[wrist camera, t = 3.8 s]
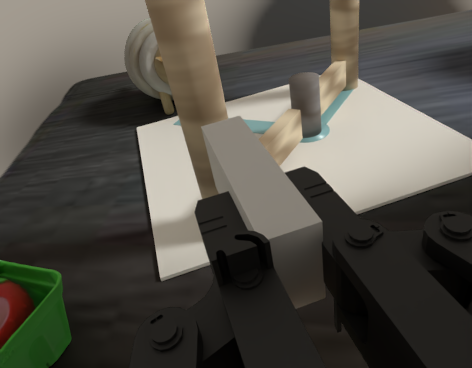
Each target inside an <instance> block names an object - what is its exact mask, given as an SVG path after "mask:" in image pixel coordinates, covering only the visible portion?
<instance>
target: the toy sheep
mask: <svg viewBox="0 0 472 368" xmlns="http://www.w3.org/2000/svg"><path fill="white" fill-rule="evenodd" d="M125 65H126V69H127V72H128V74H129V76H130V78H131V80H132V81H133V83H134V84H135V85H136V86H137V87H138V88H139V89H140V90H141V91H142V92H144V93H145V94H147V95H149V96H151V97H153V98H157V99H161V102H162V105H163V108H164V112H165V113H166V114H167V115H171V114H173V113H174V107H173V104H172V100H174V99H173V96H172V92H171V89H170V85H169V82H168V78H167V75H166V72H165V68H164V65H163V61H162V58H161V54H160V51H159V47H158V44H157V40H156V37H155V33H154V30H153V26H152V23H151V19H150V18H148V19H145V20H143V21H141V22H140V23H139V24H138V25H136V26H135V27H134V29H133V30H132V31H131V33H130V35H129V36H128V39H127V42H126V46H125Z"/></svg>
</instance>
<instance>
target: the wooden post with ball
mask: <svg viewBox="0 0 472 368" xmlns="http://www.w3.org/2000/svg"><path fill="white" fill-rule="evenodd" d="M330 24H331V60H332V65H331V66H330V67H329V68H328V69H327V70H326V71H325V72H324V73H323V74H322V75H321V76H320V77H319V75H318V74H316V73H312V72H304V73H299V74H295V75H293V76H291V77H290V78H289V89H290V99H291V109H297V110H300V112H301V124H302V136H303V138H310V137H314V136H317V135H318V134H320V133H321V131H322V128H321V116H322V114H323V113H324V112H325V111H326V110H327V108H328V107H329V106H330V105H331V103H332V102H333V101H334V100H335V99H336V97H337V96H338V95H339V94H340V93H341V91H348V90H352V89H356V88H357V87H358V41H359V0H330Z"/></svg>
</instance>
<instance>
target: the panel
mask: <svg viewBox="0 0 472 368" xmlns="http://www.w3.org/2000/svg"><path fill="white" fill-rule="evenodd" d="M145 2H146V5H147V9H148V12H149V16H150V19H151V23H152V26H153V30H154V33H155V37H156V40H157V44H158V47H159V51H160V54H161V58H162V61H163V65H164V68H165V72H166V75H167V78H168V82H169V85H170V89H171V92H172V96H173V99H174V103H175V106H176V110H177V113H178V117H179V120H180V124H181V127H182V131H183V134H184V138H185V141H186V145H187V148H188V152H189V155H190V159H191V162H192V166H193V169H194V173H195V176H196V179H197V183H198V186H199V190H200V193H201V197H202V199H204V198H208V197H211V196H214V195H217V194H219V193H218V191H217V188H216V186H215V181H214V177H213V173H212V169H211V165H210V161H209V157H208V153H207V149H206V145H205V141H204V137H203V133H202V129H201V126H205V125H208V124H212V123H215V122H219V121H222V120H226V119H228V114H227V109H226V105H225V100H224V95H223V90H222V85H221V80H220V75H219V70H218V65H217V60H216V56H215V51H214V46H213V41H212V36H211V31H210V26H209V21H208V16H207V12H206V7H205V2H204V0H145ZM302 139H303V136H302V124H301V112H300V110H297V109H288V110H287V111H286V112H285V113H284V114H283V115H282V116H281V117H280V118H279V119H278V120H277V121H276V122H275V123H274V124H273V125H272V126H271V127H270V128H269V129H268V130H267V131H266V132H265V133H264V134H263V135H262V136H261V137H260V138H259V141H260V142H261V143H262V145H263V146H264V147H265V148H266V150H267V151H268V152H269V154H270V155H271V156H272V157H273V159H274V160H275V161H276V163H277V164H278V165H279V166H280V165H281V164H282V163H283V162H284V160H285V159H286V158H287V157H288V156H289V154H290V153H291V152H292V151H293V150H294V148H295V147H296V146H297V145H298V143H299V142H300V141H301V140H302Z"/></svg>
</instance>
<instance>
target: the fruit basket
mask: <svg viewBox="0 0 472 368" xmlns="http://www.w3.org/2000/svg"><path fill="white" fill-rule="evenodd" d="M62 292H63V286H62V278H61V274H60V273H59V272H58V271H56V270H51V269H44V268H39V267H32V266H28V265H22V264H17V263H12V262H7V261H3V260H0V368H49V367H50V366H52V365H53V364H54V363H55V362H56V361H57V360H58V358H59V357H60V356H61V354H62V353H63V352H64V350H65V349H66V347H67V346H68V345H69V343H70V342H71V339H72V338H71V333H70V328H69V324H68V319H67V315H66V311H65V306H64V302H63V297H62Z"/></svg>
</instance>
